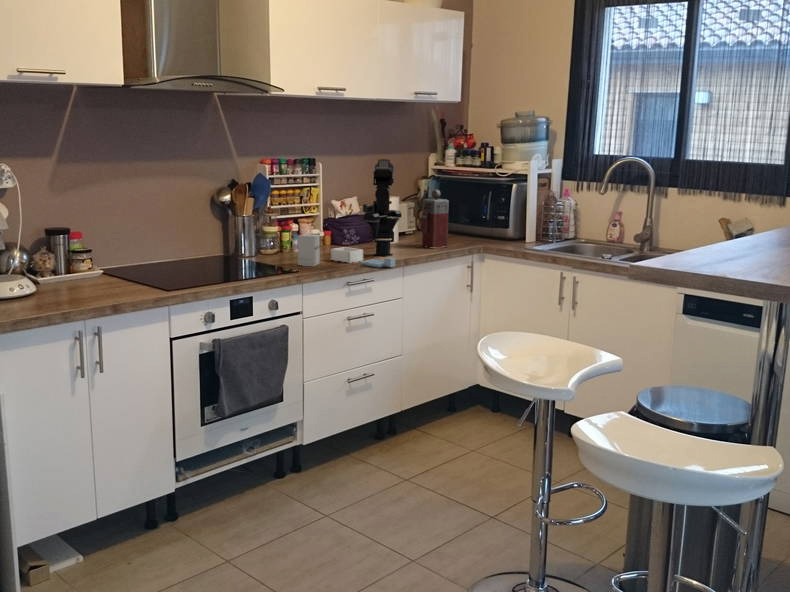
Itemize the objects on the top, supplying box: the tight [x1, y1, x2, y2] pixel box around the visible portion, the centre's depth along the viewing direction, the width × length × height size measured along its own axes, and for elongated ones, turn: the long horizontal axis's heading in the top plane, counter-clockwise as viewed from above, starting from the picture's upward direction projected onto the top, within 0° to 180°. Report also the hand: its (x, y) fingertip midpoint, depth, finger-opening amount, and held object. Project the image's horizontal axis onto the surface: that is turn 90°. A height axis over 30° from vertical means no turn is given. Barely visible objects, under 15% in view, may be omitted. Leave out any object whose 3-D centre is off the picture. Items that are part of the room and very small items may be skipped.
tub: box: [330, 246, 364, 264], centre depth 347 cm, size 11×9×5 cm
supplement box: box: [297, 233, 320, 267], centre depth 334 cm, size 7×7×13 cm
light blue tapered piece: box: [359, 256, 396, 269], centre depth 335 cm, size 14×9×4 cm, turn 50°
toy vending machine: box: [420, 189, 450, 247], centre depth 387 cm, size 9×11×28 cm
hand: (382, 236), depth 334 cm, fingers open, 9 cm apart
